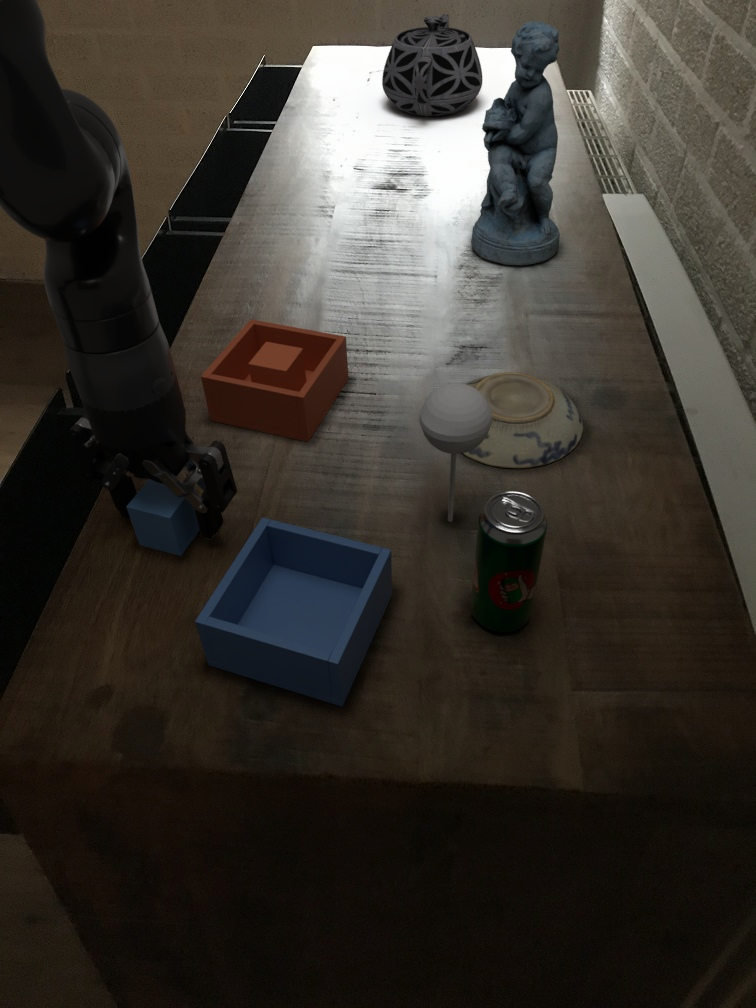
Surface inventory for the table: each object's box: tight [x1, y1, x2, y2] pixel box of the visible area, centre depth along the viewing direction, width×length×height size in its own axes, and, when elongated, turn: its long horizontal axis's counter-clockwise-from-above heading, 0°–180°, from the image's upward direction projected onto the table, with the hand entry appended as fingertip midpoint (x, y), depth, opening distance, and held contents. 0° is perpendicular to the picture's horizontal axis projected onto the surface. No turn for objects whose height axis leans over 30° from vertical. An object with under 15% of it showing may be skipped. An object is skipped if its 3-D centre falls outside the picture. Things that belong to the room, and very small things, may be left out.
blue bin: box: [194, 516, 393, 708], centre depth 64 cm, size 12×12×6 cm
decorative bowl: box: [462, 371, 584, 470], centre depth 83 cm, size 15×4×15 cm
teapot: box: [381, 13, 483, 117], centre depth 150 cm, size 19×31×15 cm, turn 168°
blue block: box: [127, 479, 200, 557], centre depth 72 cm, size 4×4×5 cm
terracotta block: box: [249, 342, 306, 392], centre depth 86 cm, size 4×4×5 cm
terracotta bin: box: [200, 318, 349, 443], centre depth 86 cm, size 12×12×6 cm
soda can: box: [470, 490, 548, 633], centre depth 63 cm, size 5×5×12 cm
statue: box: [470, 21, 561, 266], centre depth 104 cm, size 12×23×27 cm, turn 0°
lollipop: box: [418, 382, 492, 523], centre depth 69 cm, size 6×6×15 cm
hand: (170, 522), depth 73 cm, fingers open, 8 cm apart
